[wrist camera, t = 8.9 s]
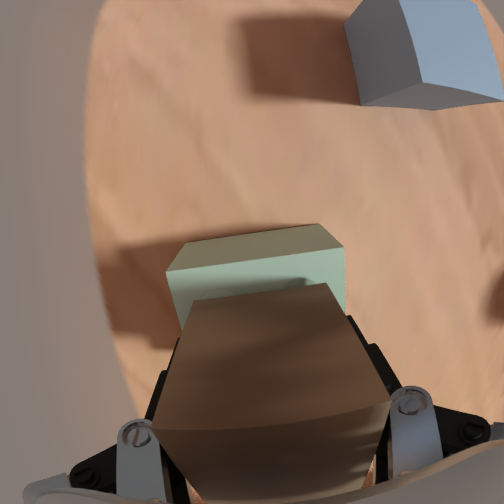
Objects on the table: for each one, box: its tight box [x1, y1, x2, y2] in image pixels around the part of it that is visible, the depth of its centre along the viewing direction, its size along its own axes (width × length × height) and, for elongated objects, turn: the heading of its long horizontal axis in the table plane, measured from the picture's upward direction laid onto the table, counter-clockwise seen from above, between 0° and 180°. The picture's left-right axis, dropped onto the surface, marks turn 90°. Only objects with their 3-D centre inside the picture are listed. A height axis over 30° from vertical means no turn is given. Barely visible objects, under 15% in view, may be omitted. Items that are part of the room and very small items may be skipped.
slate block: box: [343, 0, 504, 111], centre depth 9 cm, size 5×5×6 cm
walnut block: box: [150, 282, 392, 504], centre depth 8 cm, size 5×5×6 cm
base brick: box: [165, 224, 345, 331], centre depth 14 cm, size 7×7×4 cm
